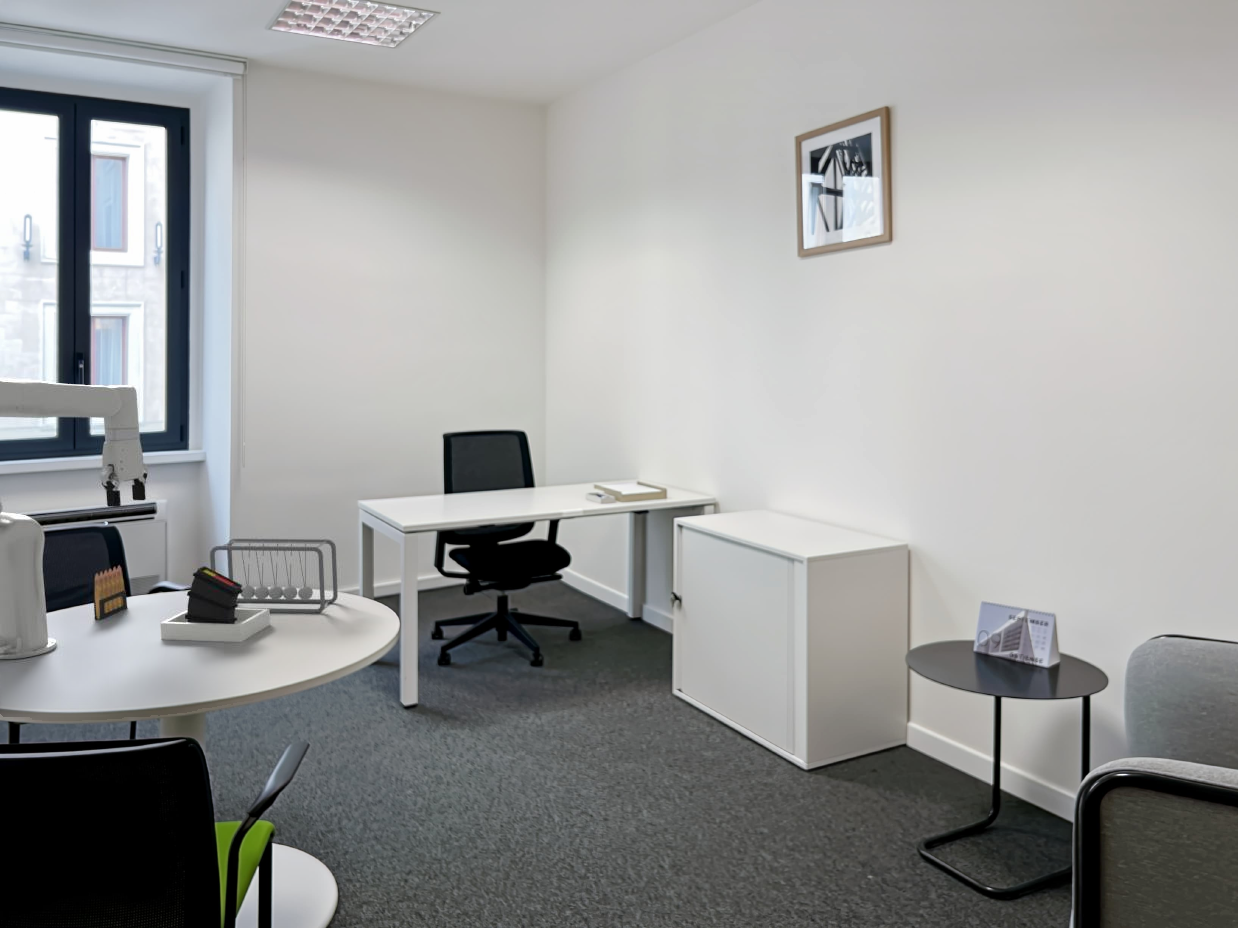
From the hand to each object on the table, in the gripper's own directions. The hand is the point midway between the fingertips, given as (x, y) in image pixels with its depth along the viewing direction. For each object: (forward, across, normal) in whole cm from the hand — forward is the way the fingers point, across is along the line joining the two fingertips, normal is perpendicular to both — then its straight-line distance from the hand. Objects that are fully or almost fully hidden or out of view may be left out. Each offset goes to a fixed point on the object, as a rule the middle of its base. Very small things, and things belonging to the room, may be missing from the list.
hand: (126, 503), depth 228 cm
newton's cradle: (+31, -16, +30) cm, 46 cm away
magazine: (+30, +7, +26) cm, 40 cm away
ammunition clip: (+31, -5, -10) cm, 33 cm away
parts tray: (+30, +6, +26) cm, 40 cm away
